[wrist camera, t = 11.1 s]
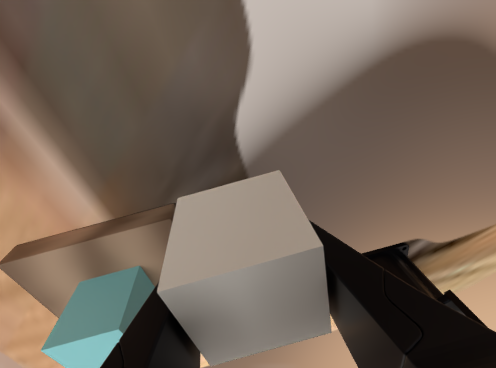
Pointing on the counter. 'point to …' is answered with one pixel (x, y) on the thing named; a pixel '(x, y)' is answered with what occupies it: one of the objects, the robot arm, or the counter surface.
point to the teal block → (97, 318)
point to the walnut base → (90, 255)
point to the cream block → (245, 270)
